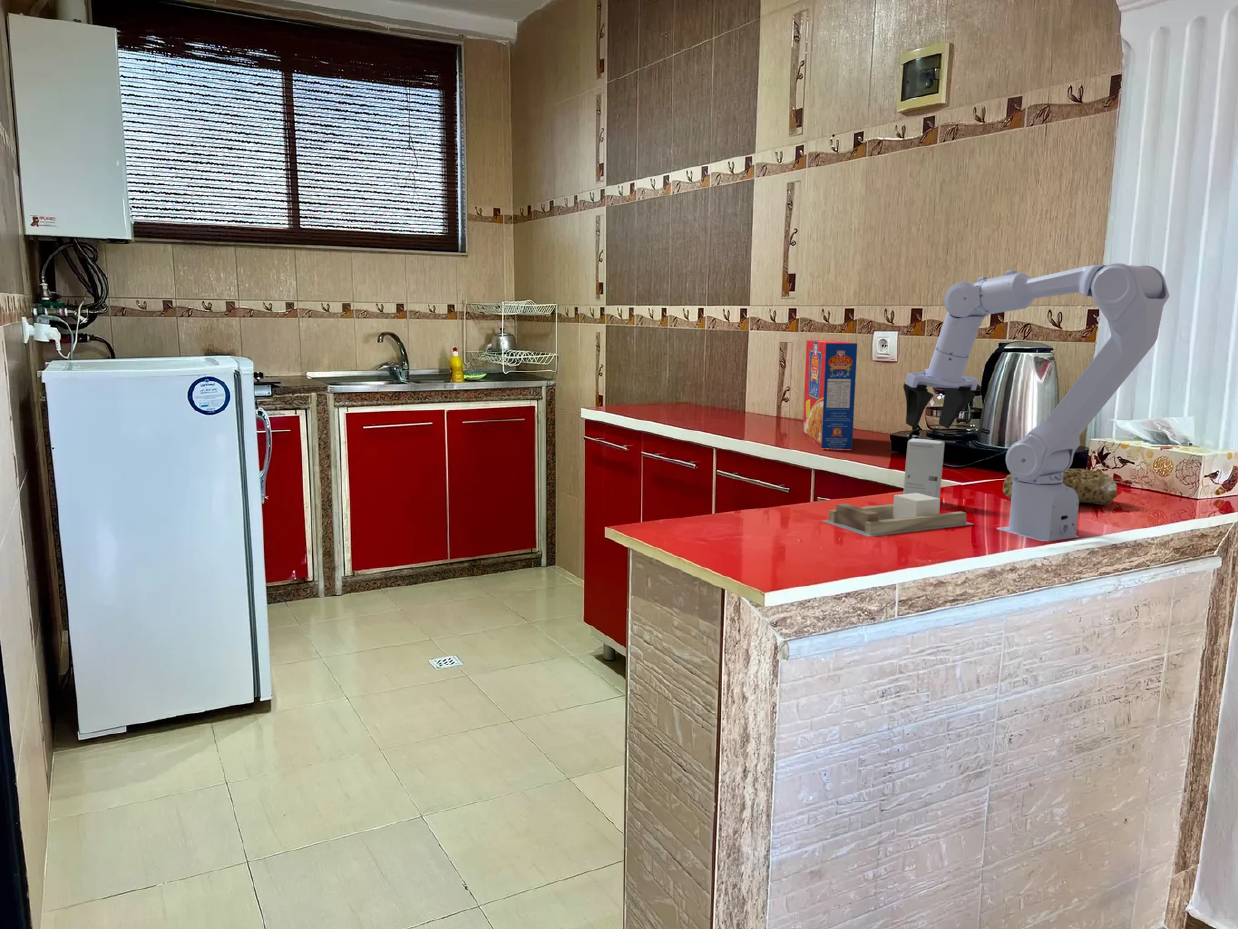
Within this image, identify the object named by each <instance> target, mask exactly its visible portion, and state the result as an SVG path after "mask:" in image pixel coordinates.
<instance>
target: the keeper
mask: <svg viewBox="0 0 1238 929" xmlns="http://www.w3.org/2000/svg"><path fill="white" fill-rule="evenodd" d="M893 504H894V507H893V518H894V519H897V518H906V517H915V516H924V515H933V514H940V507H941V506H940V505H941V498H940V499H939V498H935V497H931V496H927V495H923V494H920V493H910V494H903V493H902V494H901V493H900V494H894V495H893Z"/></svg>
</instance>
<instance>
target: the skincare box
mask: <svg viewBox="0 0 1238 929" xmlns="http://www.w3.org/2000/svg"><path fill="white" fill-rule="evenodd" d="M945 443H946V442H945V441H943V440H935V439H934V440H933V439H927V438H926V439H924V438H911V439H908V441H907V446H906V447H907V448H906V457H905V458H906V459H905V468H904V469H905V470H904V482H903V490H902V491H903V493H902V494H910V493H920V494H923V495H927V496H931V497H935V498H939V499H940V500H941V498H940V496H941V487H942V486H941V485H942V476H943V467H944V466H943V463H944V453H945Z"/></svg>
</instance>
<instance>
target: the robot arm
mask: <svg viewBox="0 0 1238 929" xmlns="http://www.w3.org/2000/svg"><path fill="white" fill-rule="evenodd" d="M1004 274H1005V275H1002V276H1000V275H999V276H995V277H991V278H988V276H981V277H978V279H977V281H976V282H970V281H967V280H966V281H965V280H960V281H958V282H956V283H954V284H953V285H951V286H950V287H948V289H947V291H946V292H945V294H944V299H943V300H944V301H943V304H944V308H945V310H946V315H945V317H944V320H943V323H942V326H941V329H940V332H939V335H938V339H937V342H936V345H935V348H934V351H933V354H932V357H931V360H930V363H929V367H928V368H924V371H920V372H908V373H907V375H906V379H905V381H904V383H903V386H902V387H903V391H904V395H905V400H906V401H905V402H906V412H905V413H906V415H905V416H906V417H905V424H906V425H908V426H910V427H911V428H917V427H918V425H919V423H920V420H921V418H922V416H923V414H924V411H925V409H926V407H927V406H928V404H929V402H930V401H931V400H932V398H933V397H934V394H933V393H931V392H930V391H928V390H929V389H928V388H944V396H943V397H944V398H943V404H942V408H941V411H940V415H939V419H938V424H939V425H940V426H941V427H943V428H945V429H950V427H951V426H952V425H953V423H954V422H955V420H956V419H957V417H958V416H959V415H960V413H961V412H962V411H963V410H964V408H965V407H966V406H967V405H968V404H969V403H971V402H972V401H973V400H974V399H975V397H976V393H975V392H973V391H976V390H977V387H978V383H979V381H980V380H979V379H978V378H975V377H973V376H971V375H964V374H965V373H964V372H966V371H965V370H966V367H967V364H968V362H969V358H970V357H971V353H972V349H973V347H974V344H975V341H976V338H977V335H978V332H979V329H980V326H982V324H983V320H984V319H985V318H986V317H988V316H989V315H992V314H993V315H994V314H999V313H1005V312H1010V311H1011V312H1012V311H1019V310H1024V309H1027V308H1028V307H1030V305H1031V304H1032V303H1033V301H1034V300H1035V299H1039V298H1040V299H1041V298H1048V297H1055V296H1063V295H1071V294H1077V293H1080V294H1082V295H1084V297H1091V298H1093V300H1094V302H1095V304H1096V305H1097V306H1098V308H1099V310H1100V311H1101V312H1102V314H1103V316H1104V317H1105V319H1106V320H1107V324H1108V328H1109V331H1110V337H1109V339H1108V340H1107V341H1106V342H1105V344H1104V345H1103V346H1102V347H1101V348H1100V350H1099V352H1098V353H1097V354H1096V355H1095V357H1094V358H1093V359H1092V361H1091V362H1090V363H1089V364H1088V365H1087V366H1086V368H1085V369H1084V371H1083V372H1082V373H1081V374H1080V376H1079V377H1078V378H1077V380H1076V381H1075V382H1074V383H1073V385H1072V386H1071V387H1070V388H1069V390H1068V391H1067V392H1066V394H1065V395H1064V396H1063V397H1062V398H1061V400H1060V402H1058V404H1057V405H1056V407H1055V408H1054V409H1053V410H1052V412H1051V413H1050V414H1049V415H1048V416H1047V418H1046V419H1045V420H1044V421H1042V422H1041V423H1040V424H1038V425H1037V426H1035V427H1034V428H1032V429H1031V430H1029V431H1028V433H1027V434H1026V435H1025V436H1024V437H1023V438H1021V439H1020V440H1017V441H1016V442H1014V443H1012V444H1011V445H1010V446H1009V448H1008V450H1007V452H1006V454H1005V464H1006V468H1007V470H1008V471H1009V473H1010V474H1012V480H1013V483H1012V496H1011V498H1010V509H1009V511H1010V512H1009V521H1008V526H1002V527H996V529H997V530H1001V531H1004V532H1007V533H1011V534H1013V535H1014V534H1015V535H1018V536H1022V537H1026V538H1030V539H1033V540H1037V541H1041V542H1053V541H1059V540H1067V539H1075V538H1079V537H1080V536H1079V535H1077V527H1078V516H1079V505H1080V502H1079V498H1078V495H1077V492H1076V491H1075V490H1074V489H1072V488H1070V487H1067V486H1065V485H1064V484H1063V474H1064V472H1065V471H1067V470H1068V469H1070V467H1071V466H1072V464H1073V460H1074V455H1075V452H1076V451H1077V449H1078V448H1079V447H1080V446H1081V441H1080V440H1081V439H1080V436H1081V435H1082V433H1083V432H1084V431H1085V430H1086V428H1087V427H1088V426H1089V425H1090V424H1091V423H1092V421H1093V420H1095V417H1097V415H1098V414H1099V413H1100V412H1101V411H1102V409H1103V407H1104V406H1105V405H1106V404H1108V402H1109V401H1110V399H1112V397H1113V395H1114V394H1115V393H1116V392H1117V391H1118V389H1119V388H1120V387H1121V386H1122V385H1123V383H1124V382H1125V381H1126V379H1127V378H1128V377H1129V376H1130V375H1131V373H1132V372H1133V371H1134V370H1135V369H1136V367H1137V366H1138V364H1140V362H1141V361H1142V360H1143V359H1144V358H1145V357H1146V355H1147V354H1148V353H1149V351H1150V350H1151V349H1152V348H1153V346H1154V345H1155V344H1156V342H1157V340H1158V337H1159V331H1160V325H1161V320H1162V316H1163V315H1162V314H1163V310H1164V306H1165V304H1166V303H1167V301H1168V299H1169V297H1170V292H1169V289H1168V285H1167V283H1166V279H1165V276H1164V275H1163V273H1162V272H1161V271H1160V270H1159V269H1157V268H1156V267H1155V266H1151V265H1140V266H1139V265H1128V264H1126V263H1125V264H1124V263H1119V262H1118V263H1117V262H1115V263H1110V264H1094V265H1086V266H1085V265H1084V266H1080V267H1076V268H1072V269H1067V270H1063V271H1059V272H1055V273H1050V274H1045V275H1041V276H1036V277H1030V276H1029V275H1028V274H1027V273H1024V272H1022V271H1021V272H1018V270H1012V269H1011V270H1006V271H1005V272H1004Z"/></svg>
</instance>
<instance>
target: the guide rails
mask: <svg viewBox="0 0 1238 929" xmlns="http://www.w3.org/2000/svg"><path fill="white" fill-rule="evenodd" d="M893 507H894V503H890V504H879V505H878V504H877V505H870V506H869V505H868V506H860V507H859V506H855V505H852V504H849V503H838V504H836V506H835V509H830V510H828V520H829V521H830V522H837V523H840V524H843V525H846V526H849V527H852V528H855V529H858V530H861V531H864V532H865V533H866V534H869V535H872V534H880V533H889V532H897V531H906V530H914V529H923V528H931V527H940V526H949V525H957V524H966V522H967V512H964V511H953V512H946V513H945V512H944V513H939V514H933V515H924V516H915V517H906V518H897V519H888V520H878V518H879V517H888V516H893Z"/></svg>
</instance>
